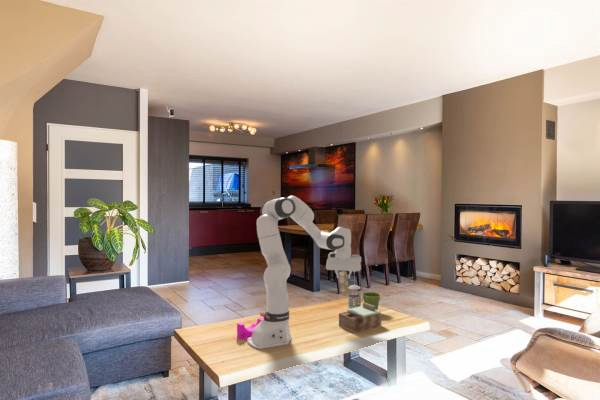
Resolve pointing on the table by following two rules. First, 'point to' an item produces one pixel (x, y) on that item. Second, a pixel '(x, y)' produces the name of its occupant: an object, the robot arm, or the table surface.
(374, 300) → the plant pot
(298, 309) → the table surface
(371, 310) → the lid
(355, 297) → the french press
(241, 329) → the toy block
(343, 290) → the wooden block
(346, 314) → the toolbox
